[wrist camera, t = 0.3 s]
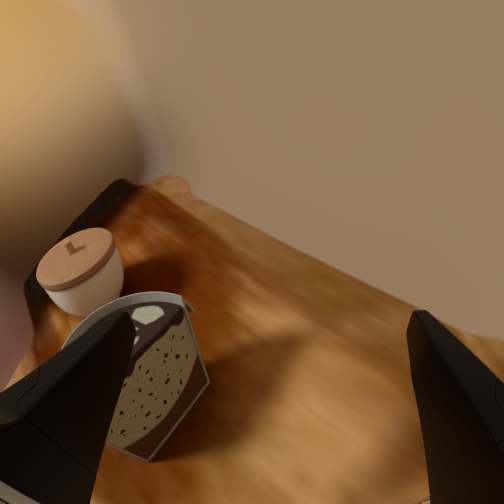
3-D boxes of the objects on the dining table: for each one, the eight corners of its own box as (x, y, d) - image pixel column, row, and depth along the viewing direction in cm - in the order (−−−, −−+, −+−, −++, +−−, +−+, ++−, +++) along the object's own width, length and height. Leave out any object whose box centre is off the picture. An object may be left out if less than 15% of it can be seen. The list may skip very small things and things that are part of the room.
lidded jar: (68, 345, 31) (25, 286, 25) (64, 293, 38) (33, 240, 33) (144, 309, 34) (112, 243, 29) (127, 263, 42) (103, 206, 36)
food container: (169, 345, 29) (130, 269, 24) (219, 369, 27) (186, 290, 21) (92, 435, 21) (21, 376, 16) (138, 475, 19) (62, 428, 13)
